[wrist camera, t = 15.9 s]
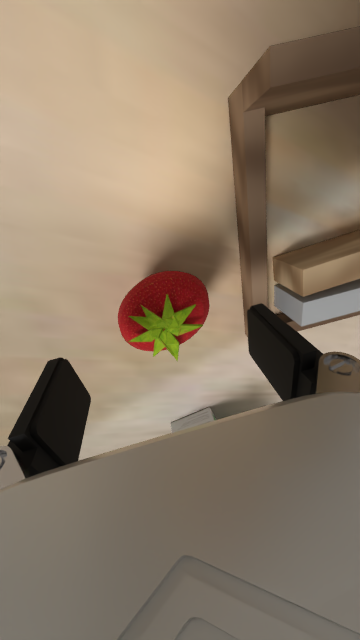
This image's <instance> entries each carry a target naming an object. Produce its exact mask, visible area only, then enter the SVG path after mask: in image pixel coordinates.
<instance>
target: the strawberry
mask: <svg viewBox="0 0 360 640" xmlns="http://www.w3.org/2000/svg"><path fill="white" fill-rule="evenodd" d="M208 311H209V298H208V293H207V290H206V287H205V286H204V284H203V283H202V282H201V281H200V280H199V279H198V278H197V277H195V276H193V275H191V274H189V273H185V272H180V271H164V272H159V273H156V274H153V275H150V276H149V277H147V278H145V279H143V280H142V281H141V282H139V283H138V284H137V285H136V286H134V287H133V288H132V289H131V290H130V291H129V292H128V294H127V295H126V296H125V298H124V299H123V301H122V303H121V306H120V308H119V313H118V324H119V327H120V331H121V334H122V336H123V338H124V339H125V341H126V342H128V343H129V344H130V345H131V346H133V347H135V348H137V349H140V350H144V351H154V353H153V357H154V356H155V355H156V354H158V353H159V352H160V351H161V350H167V349H168V351H169V352H170V353H171V354H172V355H173V356H174V357H175V359H176V360H178V351H179V345H180V344H182V343H184V342H185V341H187V340H188V339H190V338H191V337H192V336H193V335H194V334H196V333H197V331H198V330H199V329H200V328H201V327H202V326H203V324H204V322H205V320H206V318H207V315H208Z"/></svg>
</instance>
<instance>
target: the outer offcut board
mask: <svg viewBox="0 0 360 640" xmlns="http://www.w3.org/2000/svg"><path fill="white" fill-rule="evenodd" d="M274 306H275V307H277V308H278V309H279V310H280V311H282V312H283V313H284V314H286V315H287V316H288V317H290V318H291V319H292V320H294V321H295V322H296V323H297V324H299V325H300V326H301V327H302V326H305V325H309V324H313V323H316V322H320V321H324V320H328V319H331V318H335V317H339V316H343V315H346V314H350V313H354V312H358V311H360V279H357V280H354V281H351V282H347V283H344V284H341V285H338V286H335V287H332V288H329V289H326V290H323V291H319V292H316V293H313V294H310V295H307V296H304V297H303V296H301V295H299V294H297V293H296V292H294V291H292V290H290V289H288V288H287V287H285V286H283V285H281V284H278V285H274Z"/></svg>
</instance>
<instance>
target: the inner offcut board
mask: <svg viewBox="0 0 360 640" xmlns="http://www.w3.org/2000/svg"><path fill="white" fill-rule="evenodd" d="M273 272H274V281H276V282H278V283H280V284H281V285H283V286H285V287H287V288H288V289H290V290H292V291H294V292H296V293H297V294H299V295H301V296H303V297H304V296H307V295H310V294H313V293H316V292H319V291H323V290H326V289H329V288H332V287H335V286H338V285H341V284H344V283H347V282H351V281H354V280H357V279H360V230H357V231H354V232H351V233H348V234H345V235H341V236H338V237H335V238H332V239H329V240H326V241H323V242H320V243H316V244H313V245H310V246H307V247H304V248H301V249H298V250H295V251H292V252H288V253H285V254H282V255H279V256H276V257H273Z"/></svg>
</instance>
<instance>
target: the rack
mask: <svg viewBox="0 0 360 640" xmlns="http://www.w3.org/2000/svg"><path fill="white" fill-rule="evenodd" d="M355 95H360V27H355V28H350V29H346V30H341V31H337V32H332V33H328V34H323V35H318V36H314V37H309V38H305V39H300V40H295V41H291V42H286V43H282V44H277V45H273V46H270V47H269V48H268V49H267V51H266V52H265V53H264V54H263V56H262V57H261V58H260V59H259V60H258V62H257V63H256V64H255V65H254V67H253V68H252V69H251V70H250V72H249V73H248V74H247V75H246V77H245V78H244V79H243V80H242V81H241V83H240V84H239V85H238V86H237V88H236V89H235V90H234V91H233V93H232V94H231V95H230V96H229V98H228V103H229V117H230V131H231V144H232V158H233V171H234V185H235V198H236V212H237V226H238V239H239V253H240V266H241V280H242V294H243V307H244V321H245V334H246V335H247V337H248V323H247V310H249V309H250V307H251V306H253V305H257V304H260V303H262V304H264V305H265V306H266V307H267V308H268V305H267V230H266V156H265V116H269V115H273V114H277V113H282V112H286V111H290V110H295V109H299V108H303V107H308V106H312V105H316V104H321V103H325V102H329V101H334V100H338V99H342V98H347V97H351V96H355ZM357 315H360V311H358V312H354V313H350V314H346V315H343V316H339V317H335V318H331V319H328V320H324V321H320V322H316V323H313V324H309V325H305V326H302V327H301V326H300V325H299V324H297V323H296V322H295V321H294V320H292V319H291V318H290V317H288V316H287V315H286V314H284V313H282V314H278V315H277V316H278V317H279V318H280V319H281V320H282V321H284V322H285V323H287V324H288V325H290V326H291V327H292V328H293V329H294V330H295V331H301V330H304V329H308V328H312V327H316V326H319V325H323V324H327V323H330V322H334V321H338V320H342V319H345V318H349V317H353V316H357Z"/></svg>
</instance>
